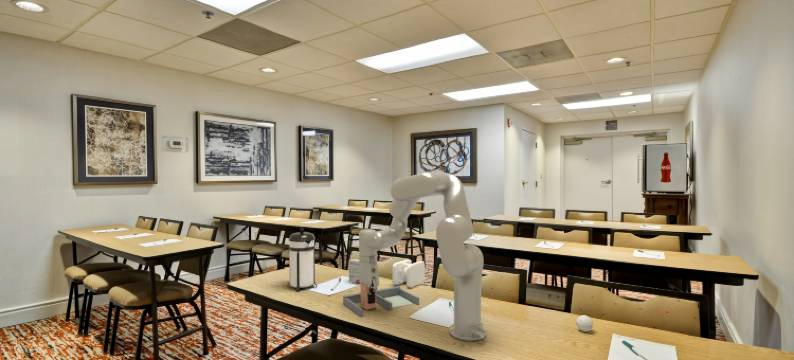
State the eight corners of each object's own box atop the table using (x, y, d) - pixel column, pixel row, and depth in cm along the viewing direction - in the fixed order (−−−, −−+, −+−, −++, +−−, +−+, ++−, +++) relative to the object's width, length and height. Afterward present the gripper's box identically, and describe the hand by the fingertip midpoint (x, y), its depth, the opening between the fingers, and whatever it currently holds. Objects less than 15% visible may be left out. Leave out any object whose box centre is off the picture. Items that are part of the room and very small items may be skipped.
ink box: (367, 282, 201) (367, 260, 201) (361, 285, 197) (361, 262, 197) (354, 280, 206) (354, 258, 206) (348, 282, 202) (348, 260, 202)
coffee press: (322, 283, 201) (321, 225, 200) (311, 292, 185) (310, 230, 185) (290, 281, 204) (290, 225, 203) (276, 291, 188) (276, 229, 187)
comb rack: (419, 304, 168) (419, 296, 168) (360, 316, 154) (360, 308, 154) (398, 293, 184) (398, 286, 184) (343, 303, 170) (343, 295, 170)
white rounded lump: (578, 326, 144) (578, 311, 144) (594, 330, 140) (595, 315, 140) (572, 333, 138) (572, 317, 138) (589, 337, 134) (589, 321, 134)
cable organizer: (408, 290, 189) (408, 266, 189) (391, 286, 196) (391, 263, 195) (425, 283, 201) (425, 260, 201) (408, 279, 208) (408, 258, 207)
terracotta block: (376, 307, 164) (376, 283, 163) (365, 309, 161) (365, 285, 161) (371, 304, 168) (371, 281, 168) (360, 306, 165) (360, 282, 165)
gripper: (385, 261, 159) (385, 305, 159) (367, 254, 173) (367, 294, 174) (369, 263, 155) (369, 309, 155) (351, 256, 170) (352, 297, 170)
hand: (368, 301), depth 164 cm, fingers closed on terracotta block, 5 cm apart
